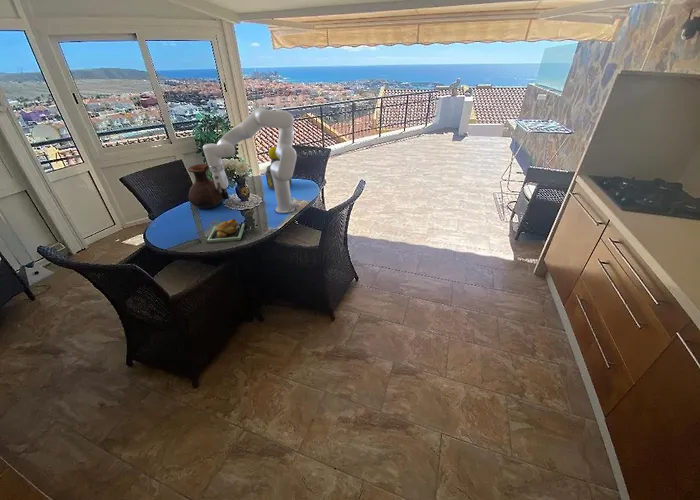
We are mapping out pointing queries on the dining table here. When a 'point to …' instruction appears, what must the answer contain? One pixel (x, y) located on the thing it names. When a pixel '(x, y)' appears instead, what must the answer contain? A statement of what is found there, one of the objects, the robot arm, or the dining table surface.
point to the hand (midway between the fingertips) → (225, 198)
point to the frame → (224, 238)
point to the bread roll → (226, 228)
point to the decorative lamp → (268, 173)
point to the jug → (203, 189)
